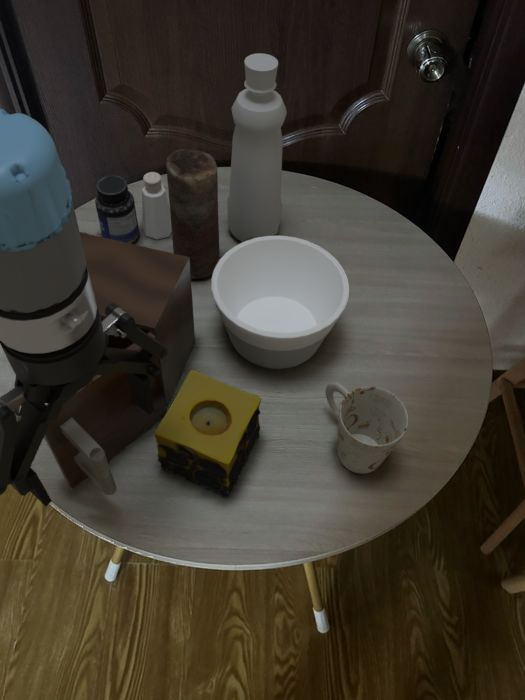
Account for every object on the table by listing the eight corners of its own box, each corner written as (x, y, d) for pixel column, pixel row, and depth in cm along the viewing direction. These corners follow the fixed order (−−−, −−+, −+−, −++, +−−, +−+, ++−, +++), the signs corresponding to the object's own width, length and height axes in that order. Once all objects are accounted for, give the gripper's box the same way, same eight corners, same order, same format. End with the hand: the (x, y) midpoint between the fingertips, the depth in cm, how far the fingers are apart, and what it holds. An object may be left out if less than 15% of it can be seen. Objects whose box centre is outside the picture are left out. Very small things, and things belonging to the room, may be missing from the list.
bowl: (309, 273, 101) (317, 223, 93) (359, 364, 91) (373, 317, 82) (196, 300, 97) (193, 250, 88) (235, 399, 86) (236, 353, 78)
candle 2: (193, 407, 85) (190, 366, 77) (261, 434, 83) (264, 394, 75) (157, 469, 79) (149, 431, 71) (229, 500, 77) (229, 464, 69)
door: (198, 443, 82) (193, 368, 68) (103, 524, 75) (75, 460, 61) (162, 409, 85) (149, 331, 71) (67, 484, 78) (32, 414, 64)
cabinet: (167, 407, 85) (155, 328, 71) (62, 380, 87) (30, 297, 73) (195, 341, 92) (189, 256, 78) (97, 317, 94) (74, 230, 80)
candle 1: (184, 244, 104) (176, 141, 88) (225, 254, 103) (225, 151, 87) (168, 275, 99) (156, 173, 83) (211, 286, 99) (208, 184, 83)
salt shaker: (140, 239, 104) (132, 187, 95) (144, 217, 107) (137, 165, 99) (172, 240, 104) (167, 188, 95) (175, 219, 108) (171, 166, 99)
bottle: (281, 214, 109) (296, 47, 85) (278, 250, 104) (293, 83, 80) (229, 210, 110) (230, 42, 85) (224, 246, 104) (223, 77, 80)
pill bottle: (102, 226, 106) (91, 173, 97) (138, 223, 106) (130, 170, 98) (103, 251, 102) (91, 199, 93) (140, 248, 103) (132, 195, 94)
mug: (356, 494, 79) (371, 458, 71) (296, 423, 84) (303, 383, 76) (403, 460, 82) (423, 422, 74) (342, 394, 88) (353, 352, 80)
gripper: (-75, 463, 39) (15, 565, 56) (199, 255, 51) (204, 392, 68) (-140, 395, 41) (-35, 512, 59) (136, 212, 53) (156, 354, 70)
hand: (94, 448), depth 63 cm, fingers open, 13 cm apart
